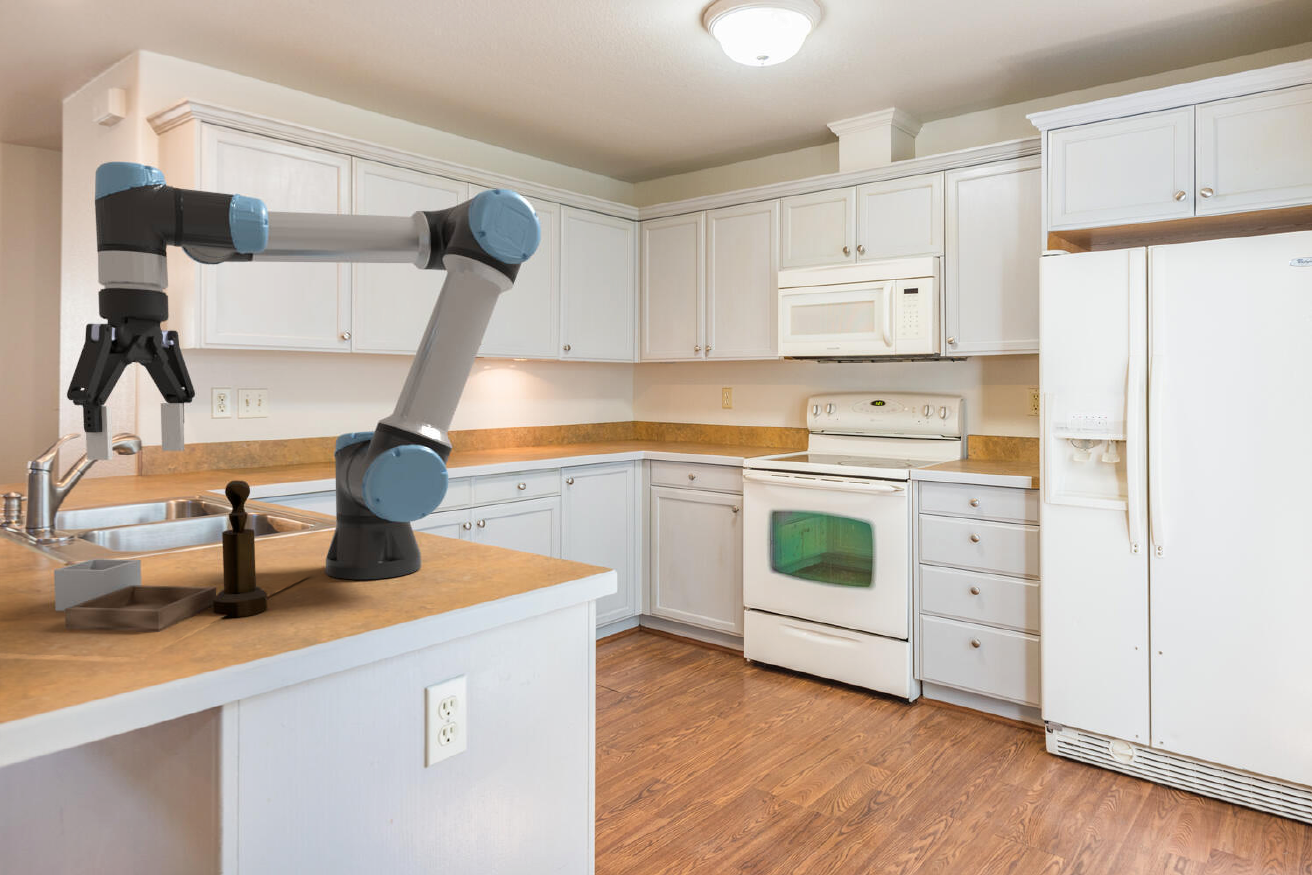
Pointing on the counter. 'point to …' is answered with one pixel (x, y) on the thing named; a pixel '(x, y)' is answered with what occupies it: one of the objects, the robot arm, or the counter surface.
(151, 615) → the walnut tray
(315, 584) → the counter surface
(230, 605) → the brown wooden tall piece
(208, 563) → the counter surface
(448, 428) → the robot arm
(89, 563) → the grey tub
